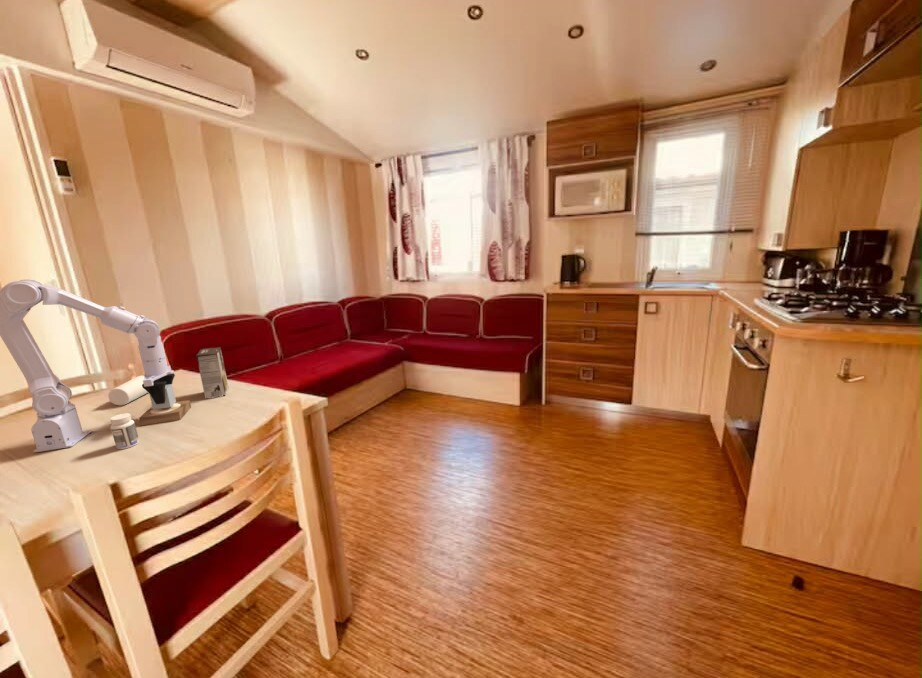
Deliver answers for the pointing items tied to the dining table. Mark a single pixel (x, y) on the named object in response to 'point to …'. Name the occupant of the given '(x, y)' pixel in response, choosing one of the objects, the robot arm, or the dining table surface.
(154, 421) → the plinth
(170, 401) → the block
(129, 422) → the pill bottle
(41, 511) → the dining table surface
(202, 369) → the coffee box
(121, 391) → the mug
